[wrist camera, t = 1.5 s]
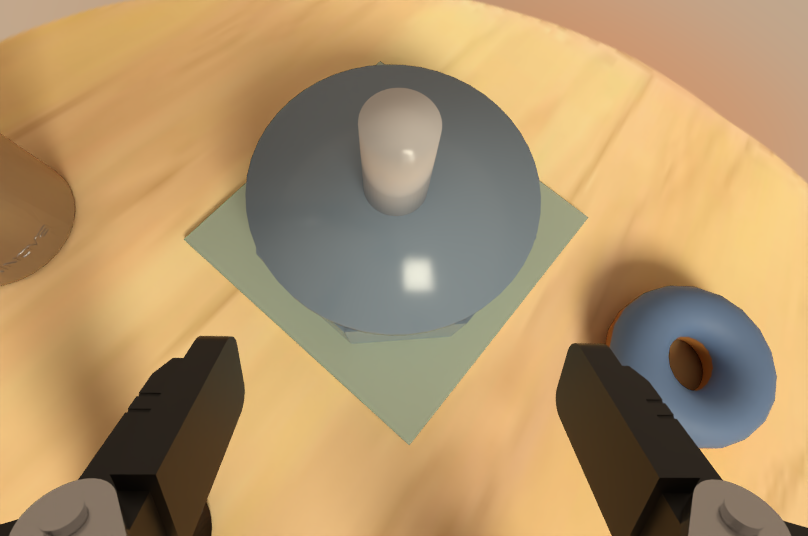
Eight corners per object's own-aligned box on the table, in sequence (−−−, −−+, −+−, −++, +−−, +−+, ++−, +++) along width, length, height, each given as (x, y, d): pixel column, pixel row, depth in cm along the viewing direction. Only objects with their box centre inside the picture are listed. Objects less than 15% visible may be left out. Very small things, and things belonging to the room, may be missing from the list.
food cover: (222, 237, 29) (116, 133, 17) (382, 88, 33) (382, -77, 21) (406, 401, 27) (425, 407, 15) (554, 219, 31) (659, 113, 19)
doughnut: (692, 269, 30) (741, 254, 26) (769, 405, 29) (835, 414, 24) (566, 323, 30) (593, 317, 25) (635, 465, 28) (678, 486, 23)
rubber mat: (186, 241, 29) (183, 239, 29) (380, 64, 34) (380, 61, 34) (408, 444, 26) (409, 445, 26) (585, 219, 31) (588, 217, 31)
